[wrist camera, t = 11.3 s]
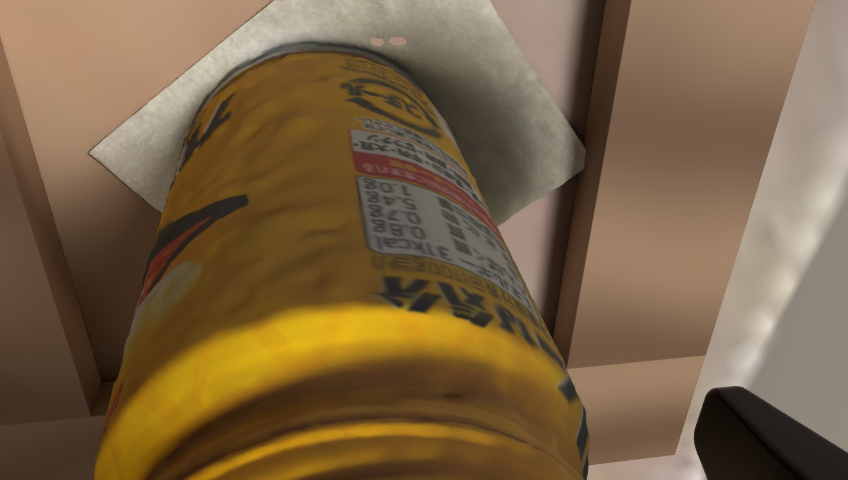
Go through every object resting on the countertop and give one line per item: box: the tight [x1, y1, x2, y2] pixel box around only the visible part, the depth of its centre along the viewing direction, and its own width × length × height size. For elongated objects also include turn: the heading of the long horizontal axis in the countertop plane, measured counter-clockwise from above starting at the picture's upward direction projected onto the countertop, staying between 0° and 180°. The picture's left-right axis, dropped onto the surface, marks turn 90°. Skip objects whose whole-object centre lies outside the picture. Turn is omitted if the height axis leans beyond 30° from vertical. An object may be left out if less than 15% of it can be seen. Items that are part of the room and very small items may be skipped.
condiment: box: [89, 0, 590, 480], centre depth 11 cm, size 7×8×12 cm
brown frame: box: [0, 0, 816, 480], centre depth 16 cm, size 16×20×1 cm
